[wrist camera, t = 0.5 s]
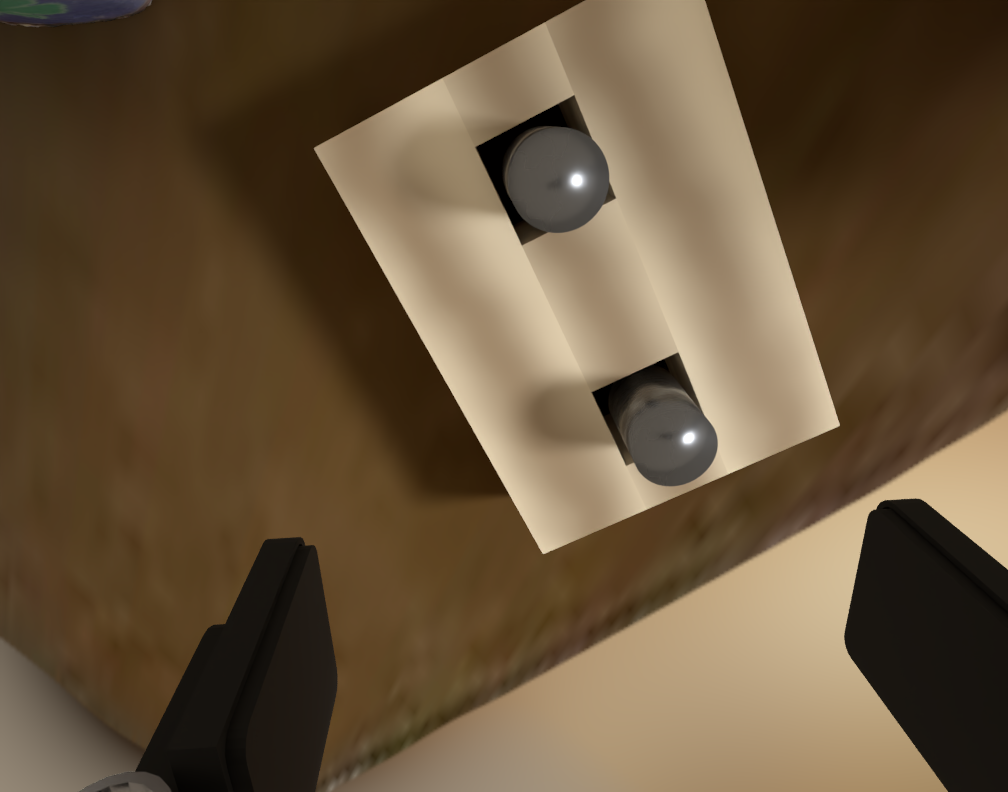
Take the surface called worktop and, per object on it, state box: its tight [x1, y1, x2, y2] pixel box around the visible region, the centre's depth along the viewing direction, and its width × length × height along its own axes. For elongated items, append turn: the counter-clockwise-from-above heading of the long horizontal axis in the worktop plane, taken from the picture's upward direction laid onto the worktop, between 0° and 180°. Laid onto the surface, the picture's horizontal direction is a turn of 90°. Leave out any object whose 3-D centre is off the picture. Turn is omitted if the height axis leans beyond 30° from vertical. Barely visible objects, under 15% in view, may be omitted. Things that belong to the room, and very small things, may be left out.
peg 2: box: [608, 365, 718, 486], centre depth 31 cm, size 4×4×6 cm
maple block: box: [314, 0, 840, 554], centre depth 33 cm, size 16×22×6 cm
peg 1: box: [502, 126, 609, 233], centre depth 26 cm, size 4×4×6 cm
